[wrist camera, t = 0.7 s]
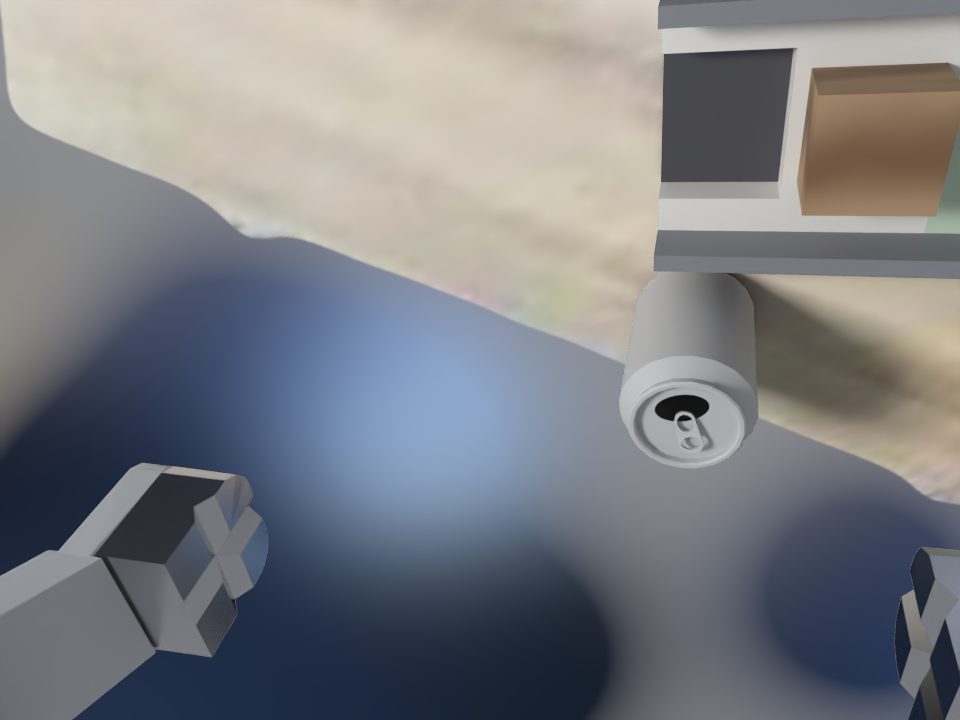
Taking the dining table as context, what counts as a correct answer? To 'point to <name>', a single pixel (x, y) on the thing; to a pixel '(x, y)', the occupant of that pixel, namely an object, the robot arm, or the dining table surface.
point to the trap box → (785, 137)
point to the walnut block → (878, 139)
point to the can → (691, 369)
